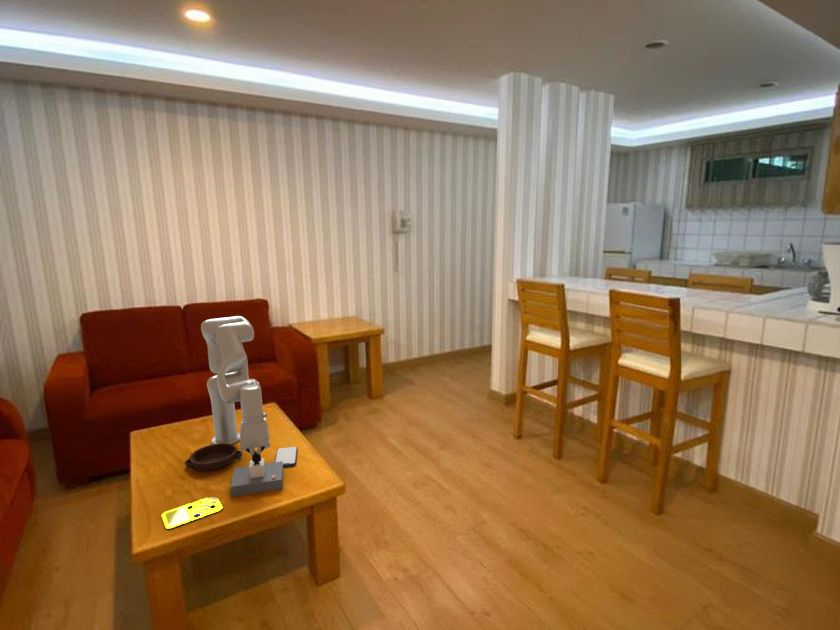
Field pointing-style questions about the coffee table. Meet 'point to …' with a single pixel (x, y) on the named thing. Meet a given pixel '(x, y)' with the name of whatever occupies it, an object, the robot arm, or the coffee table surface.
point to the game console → (191, 512)
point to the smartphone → (287, 456)
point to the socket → (257, 480)
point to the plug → (257, 469)
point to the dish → (213, 457)
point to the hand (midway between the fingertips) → (257, 462)
